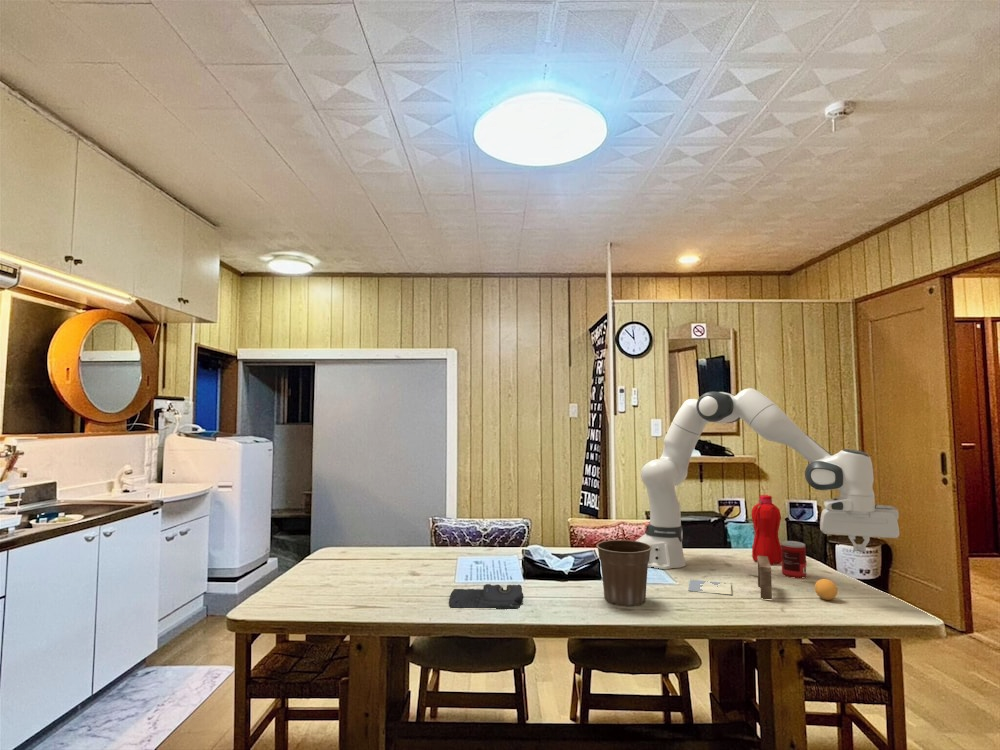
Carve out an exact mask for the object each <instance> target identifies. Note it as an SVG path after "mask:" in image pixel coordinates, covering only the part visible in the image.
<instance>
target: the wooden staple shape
mask: <svg viewBox="0 0 1000 750" xmlns="http://www.w3.org/2000/svg"><path fill="white" fill-rule="evenodd" d="M757 560H758V562H757V587H760V588H759V589H760V599H761V598H763V599H772V600H773V586H772V585H773V584H772V580H773V579H772V565H770V563H769V560H768V557H767V556H757Z"/></svg>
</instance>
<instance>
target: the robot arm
mask: <svg viewBox="0 0 1000 750" xmlns="http://www.w3.org/2000/svg"><path fill="white" fill-rule="evenodd" d="M739 420H742V421H744V422H745V424H746V425H748V426H749V427H750V428H751V429H752V430H753V431H754V432H755V434H758V435H759V436H760V437H761V438H763V439H765V440H767V441H769V442H774V443H778V444H781V445H785V446H787V447H789V448H791V449H793V450H794V451H795V452H797V453H798V454H799V455H800V456H801V457H803V458H804V459H805V461H807V462H809V464H808V465H807V466H806V468H805V469H804V477H805V478H804V479H805V481H806V483H807V484H808V485H809V486H810V487H811V488H812V489H815V490H818V491H822V492H823V491H824V492H825V491H827V492H828V491H833V490H838V491H839V492H840V493H839V496H837V497H834V498H828V499H826V500H824V501H823V506H824V508H823V509H822V511H821V514H820V520H819V528H820V531H821V532H822V533H823V534H825V535H836V536H848V540H849V541H850V542H851V543H852V547H853V548H852V549H853V551H855V552H863V553H866V552H867V549H866V547H867V545H868V544H869V542H870V540H871V539H870V538H884V539H885V538H887V539H889V538H890V539H898V538H899V537H900V536H901V535H900V527H899V523H898V521H899V518H900V514H899V513H900V512H899V510H898V509H897V507H894V506H892V505H889V504H888V505H882V504H876V502H875V500H876V499H875V496H876V495H875V492H874V489H873V488H874V487H873V485H874V480H875V478H874V477H875V476H874V469H873V468H874V467H873V462H872V458H871V456H870V455H869V454H868V453H866V452H865V451H861V450H858V449H857V450H856V449H851V448H844V449H841V450H840V451H838V452H837V453H835V454H832V453H830V452H828V451H827V450H826V449H825V448H824V447H823V446H821V445H820V443H818V442H816V440H814V439H813V438H812V437H811V436H809V435H808V434H806V432H804V430H802V429H801V428H800V427H799V426H798V425H797V424H796V423H795V422H794V421H793V420H792V419H791V418H790V417H789V415H787V414H786V413H785V412H784V411H783V410H782V409H781V408H780V407H779V405H777V404H776V403H774V402H773V400H771V399H770V398H768V396H766V395H764V394H763V393H761V392H760V391H758V390H757V389H755V388H751V387H749V388H745V389H742V390H740V391H739V392H738V393H737V394H736V395H735V394H732V393H729V392H724V391H707V392H705V393H703V394H701V396H699V397H698V399H697V398H689V399H686V400H685V401H684V402H683V403H682V404H681V406H680V407H679V408H678V411H677V412H676V414H675V416H674V418H673V419H672V422H671V424H670V426H669V428H668V430H667V433H666V434H665V436H664V439H663V443H664V444H663V449H662V453H661V456H660V457H659V458H656V459H652V460H649V461H648V462H647V463H646V464H644V465H643V467H641V468H642V469H641V471H640V478H641V481H642V482H643V484H644V485H645V488H646V491H647V496H648V500H649V520H650V522H647V523H645V524H644V534H642V536H640V537H639V538H638V539H635V541H638V542H642V543H646V544H648V545H650V546H651V547H652V549H651V550H650V557H649V562H648V568H651V567H654V568H653V569H658V568H659V569H660V570H670V569H678V568H683V567H685V566H686V565H687V562H686V559H685V555H684V551H683V543H682V542H683V537H684V536H683V535H684V534H683V526H682V522H681V517H682V516H681V512H682V511H681V509H682V508H681V504H680V503H681V502H679V499H678V497H677V493H676V486H679V485H680V484H682V483H683V482H684V481H685V480H686V478H687V476H688V474H689V473H688V468H689V465H690V461H691V457H692V454H693V451H694V449H695V447H696V446H697V443H698V441H699V439H700V437H701V435H702V433H703V431H704V429H705V427H706V425H707V424H708V423H709V422H710V423H716V424H732V423H735V422H738V421H739ZM856 537H862V539H863V542H862V543H861V544H860V543H859V544H857V543H856V541H855V540H856Z"/></svg>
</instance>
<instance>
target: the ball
mask: <svg viewBox="0 0 1000 750" xmlns="http://www.w3.org/2000/svg"><path fill="white" fill-rule="evenodd" d="M814 590H815V593H816V595H817V596H818V597H819V598H820V599H822V600H825V599H826V601H831V600H833V599H835V598H836V597H837V595H838V587H837V585H836V584H835V582H833V581H832V580H831V579H828V578H822V579H818V580H817V581H816V583H815V585H814Z"/></svg>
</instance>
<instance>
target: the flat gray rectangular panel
mask: <svg viewBox="0 0 1000 750" xmlns="http://www.w3.org/2000/svg"><path fill="white" fill-rule="evenodd" d="M706 581H707V582H708V581H709V580H700V579H699V580H698V579H689V585H688V589H687V590H688V592H693V591H703V590H702V589H700V587H702V586H703V585H700V584H704V583H705V582H706ZM710 583H712V584H714V585H718V584H720V583H722V582H721V581H719V582H717V581H710ZM723 583H724V584H726V583H727V582H723ZM730 584H732V583H731V582H730ZM717 587H718V586H717Z"/></svg>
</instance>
